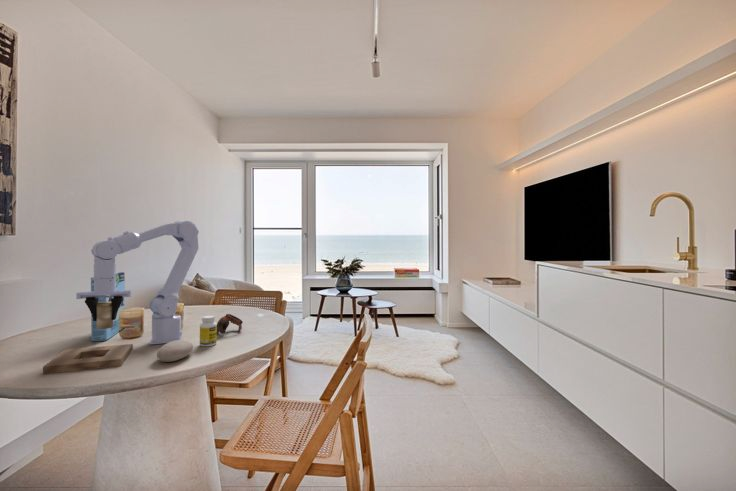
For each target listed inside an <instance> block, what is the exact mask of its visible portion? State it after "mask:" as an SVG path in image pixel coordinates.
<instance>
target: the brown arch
mask: <svg viewBox="0 0 736 491" xmlns="http://www.w3.org/2000/svg"><path fill="white" fill-rule="evenodd" d="M230 323H231V324H233V325H236V326H238V330H237V332H238V333H240V332H241V331H242V330H243V327H242V325H243V323H244V322H243V321H242V319H240V318H239V317H237V316H235V315H233V314H230V313H226V314H225V315H224V316H222V317H220V318H219V319H218V321H217V322H216V324H217V335H219V334H225V333H226V332H227V331H226V330H227V329H228V328H229V326H230Z"/></svg>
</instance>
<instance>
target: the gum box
mask: <svg viewBox="0 0 736 491" xmlns="http://www.w3.org/2000/svg"><path fill="white" fill-rule="evenodd" d="M115 275H116V277H115V278H116V290H126V289H125V288H126V287H125V286H126V285H125V284H126V283H125V282H126V281H125V271H124V272H123V271H122V272H117V271H115ZM91 291H94V276H92V277H90V292H91ZM102 296H113V295H102ZM112 298H114V297H107V298H99V300H98V303H99V302H111V299H112ZM121 309H125V310H126V297H124V299H123V301H122V302H121V304H120V307H119V309H118V312H117V316H116V319H115V320H113V327H112V328H107V329H97V321H93V317H92V314H91V313H90V314H91V317H90V318H91V319H90V320H91V323H90V324H91V327H90V328H91V341H90V342H105V341H108V340H109V339H110V338H112V337H113V336H115V335H116V334H118V333H119V311H120V310H121Z"/></svg>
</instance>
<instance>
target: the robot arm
mask: <svg viewBox="0 0 736 491" xmlns="http://www.w3.org/2000/svg"><path fill="white" fill-rule="evenodd" d="M198 235H199V229H198V228H197V225H196V224H195V223H194V222H192V221H191V220H190V221H189V220H184V221H178V220H176V221H174V222H169V223H163V224H160V225H158V226H155V227H153V228H150V229H148V230H147V229H146V230H144V231H143V232H142V231H141V232H139V233H137V232H134V231H130V232H129V231H124V232H123V234H121V235H117V236H114V237H112V236H110V237H107V240H101V241H97V242H95V244H94V245H93V246H92V249H91V250H90V251H91V254H92V255H93V262H94V264H93V277H94V291H91V290H90V291H77V292H76V293H75V294H76V300H81V299H85V300H84V303H85V304H86V306H87V308H88V309H89V311H90V314H92V317H93V321H97V313H96V303H98V300H99V298H107V297H114V298H112V299H111V302H112V320H115V319H116V316H117V312H118V309H119V307H120V304H121V302H122V301H123V299H124V297H125V298H131V297H132V295H133V294H132V293H133V292H132V291H133V290H132V289H130V290H126V289H125V290H116V278H115V277H116V275H115V272H116V265H117V264H116V257H117V255H122V254H124V253H128V252H130V251H132V250H135V249H138V248H140V247H141V246H142V243H144V242H146V241H150V240H153V239H157V238H160V237H163V236H172V237H173V238H174V239H175V240H176V241H177V242H178V244H179V246H180V248H181V250H180V252H179V253H178V256H177V257H176V260H175V262H174V264H173V266H172V268H171V271H170V273H169V274H168V277H167V279H166V281H165V283H164V285H163V287H162V288H161V289H160V290H159V291H158V292H157V294H156V295H155V296H154V297H153V298H152V300H150V301H149V310H150V311H151V312H152V315H151V339H150V341H149V343H148V344H149V345H161V344H167V343H169V342H172V341H175V340H182V334H183V331H182V316H181V315H176V312H177V310H178V301H179V298H180V296H179V292H180V290H181V287H182V285H183V283H184V281H185V279H186V276H187V274H188V272H189V270H190V268H191V266H192V264H193V261H194V259H195V256H196V255H197V253H198V251H199V236H198ZM102 295H113V296H102Z"/></svg>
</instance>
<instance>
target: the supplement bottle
mask: <svg viewBox="0 0 736 491" xmlns="http://www.w3.org/2000/svg"><path fill="white" fill-rule="evenodd" d="M215 319H216V318H215V315H205V316H202V319H201V320H202V323H200V325H199V346H201V347H212V346H216V345H217V335H218V334H217V322H216V321H215Z"/></svg>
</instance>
